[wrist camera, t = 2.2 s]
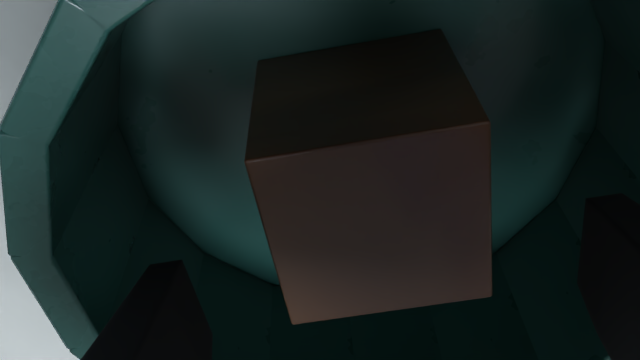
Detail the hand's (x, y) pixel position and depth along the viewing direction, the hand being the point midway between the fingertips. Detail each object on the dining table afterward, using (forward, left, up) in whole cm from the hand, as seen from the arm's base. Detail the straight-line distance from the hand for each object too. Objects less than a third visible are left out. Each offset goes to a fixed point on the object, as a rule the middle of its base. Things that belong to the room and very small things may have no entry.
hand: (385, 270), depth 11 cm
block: (0, 0, -5) cm, 5 cm away
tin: (0, 0, -6) cm, 6 cm away
